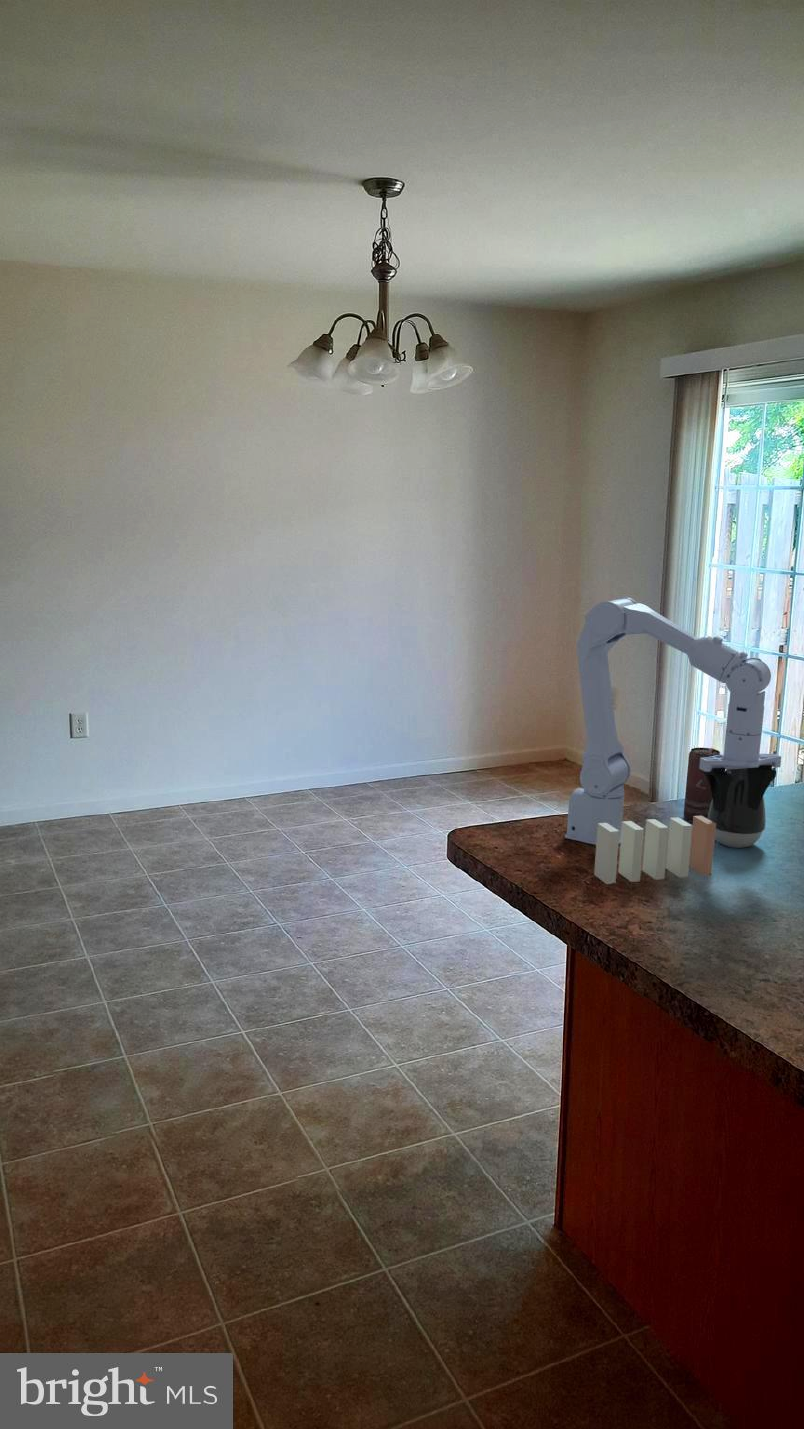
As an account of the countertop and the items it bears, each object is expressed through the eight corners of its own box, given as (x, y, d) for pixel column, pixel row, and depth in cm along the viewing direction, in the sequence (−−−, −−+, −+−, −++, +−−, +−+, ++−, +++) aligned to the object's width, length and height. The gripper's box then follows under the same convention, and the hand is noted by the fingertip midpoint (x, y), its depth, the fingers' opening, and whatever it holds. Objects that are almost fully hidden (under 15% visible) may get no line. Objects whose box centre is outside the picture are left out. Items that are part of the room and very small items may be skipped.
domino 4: (679, 877, 175) (683, 826, 173) (665, 868, 179) (669, 817, 177) (687, 876, 176) (692, 825, 174) (673, 867, 180) (678, 817, 178)
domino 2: (631, 881, 173) (635, 829, 171) (618, 872, 177) (622, 821, 175) (639, 881, 173) (644, 829, 171) (626, 871, 177) (630, 820, 175)
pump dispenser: (692, 837, 196) (699, 758, 192) (736, 831, 200) (744, 754, 196) (729, 855, 186) (737, 773, 183) (775, 848, 191) (784, 768, 187)
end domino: (702, 875, 176) (707, 824, 175) (688, 866, 181) (693, 816, 179) (711, 874, 177) (716, 823, 175) (696, 865, 181) (701, 815, 179)
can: (719, 817, 208) (726, 749, 205) (710, 826, 202) (716, 755, 199) (689, 812, 211) (695, 744, 208) (679, 820, 206) (685, 750, 203)
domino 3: (655, 879, 174) (659, 827, 172) (642, 870, 178) (646, 819, 176) (664, 878, 174) (668, 827, 172) (650, 869, 178) (654, 819, 177)
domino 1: (606, 884, 171) (610, 831, 169) (594, 874, 175) (597, 823, 173) (615, 883, 172) (619, 831, 170) (602, 873, 176) (606, 822, 174)
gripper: (719, 739, 169) (711, 819, 172) (795, 735, 174) (787, 813, 177) (695, 729, 176) (688, 806, 179) (769, 725, 180) (761, 801, 183)
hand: (735, 809), depth 178 cm, fingers open, 6 cm apart
